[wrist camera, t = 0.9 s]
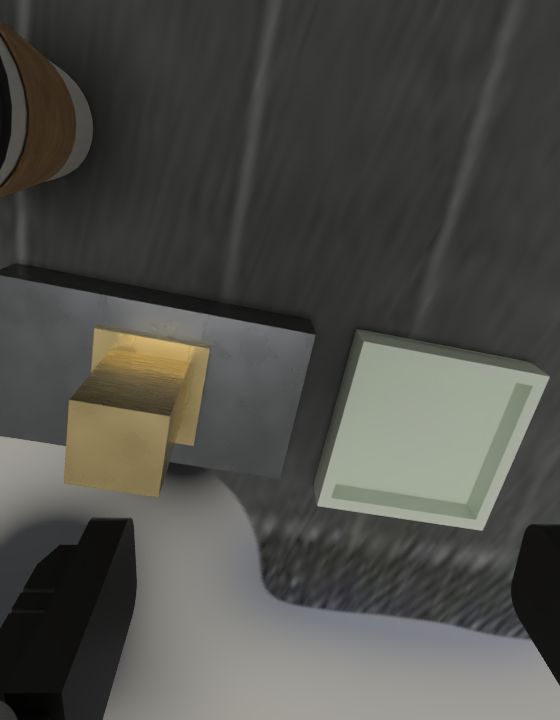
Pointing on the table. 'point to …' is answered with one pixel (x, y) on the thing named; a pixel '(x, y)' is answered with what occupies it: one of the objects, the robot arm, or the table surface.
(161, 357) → the brass plug
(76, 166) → the coffee cup
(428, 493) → the parts tray
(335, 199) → the table surface
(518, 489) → the table surface
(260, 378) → the grey metal block
